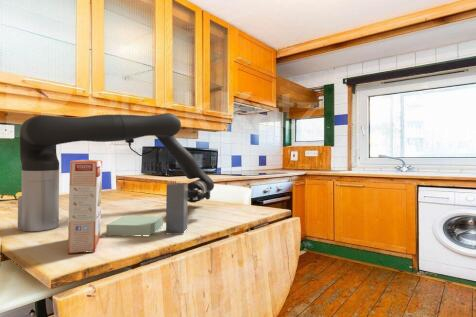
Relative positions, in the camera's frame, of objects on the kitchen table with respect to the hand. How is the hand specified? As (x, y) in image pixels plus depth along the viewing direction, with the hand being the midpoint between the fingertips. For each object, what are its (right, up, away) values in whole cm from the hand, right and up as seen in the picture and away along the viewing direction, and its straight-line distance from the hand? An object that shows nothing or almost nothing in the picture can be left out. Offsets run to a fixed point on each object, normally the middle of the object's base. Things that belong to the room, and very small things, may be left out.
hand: (185, 197), depth 95 cm
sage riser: (-13, -8, -11) cm, 18 cm away
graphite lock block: (-1, -8, -11) cm, 14 cm away
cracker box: (-20, -8, -24) cm, 33 cm away
